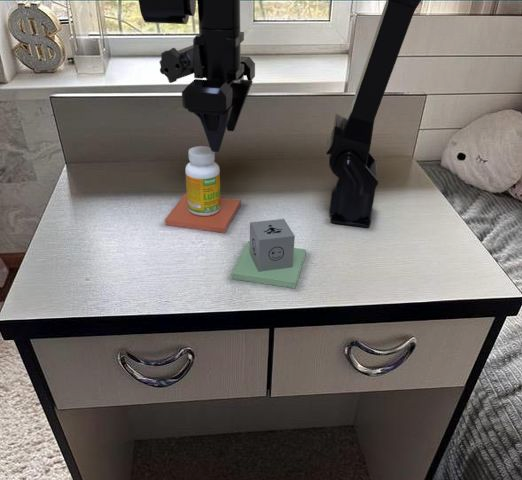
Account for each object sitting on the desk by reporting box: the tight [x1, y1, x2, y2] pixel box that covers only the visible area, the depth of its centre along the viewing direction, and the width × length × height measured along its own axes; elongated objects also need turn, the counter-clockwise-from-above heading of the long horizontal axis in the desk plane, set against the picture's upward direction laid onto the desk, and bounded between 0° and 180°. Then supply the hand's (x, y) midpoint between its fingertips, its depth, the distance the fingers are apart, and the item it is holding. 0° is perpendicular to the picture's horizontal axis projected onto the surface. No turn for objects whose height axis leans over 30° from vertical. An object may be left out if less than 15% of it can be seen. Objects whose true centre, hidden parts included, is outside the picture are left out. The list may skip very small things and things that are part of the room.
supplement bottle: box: [184, 145, 221, 216], centre depth 83 cm, size 5×5×10 cm
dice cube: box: [249, 218, 296, 272], centre depth 74 cm, size 5×5×5 cm
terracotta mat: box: [164, 192, 242, 234], centre depth 87 cm, size 10×10×1 cm
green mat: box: [231, 240, 307, 289], centre depth 76 cm, size 9×9×1 cm
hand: (223, 140), depth 82 cm, fingers open, 9 cm apart
